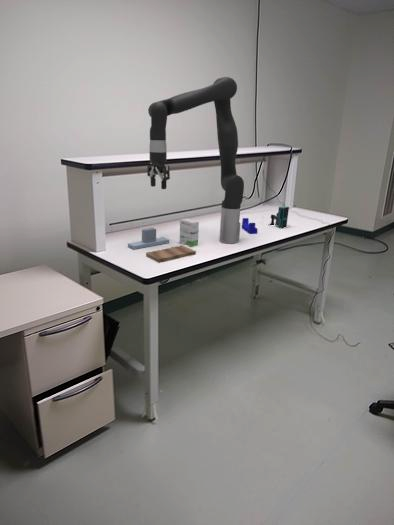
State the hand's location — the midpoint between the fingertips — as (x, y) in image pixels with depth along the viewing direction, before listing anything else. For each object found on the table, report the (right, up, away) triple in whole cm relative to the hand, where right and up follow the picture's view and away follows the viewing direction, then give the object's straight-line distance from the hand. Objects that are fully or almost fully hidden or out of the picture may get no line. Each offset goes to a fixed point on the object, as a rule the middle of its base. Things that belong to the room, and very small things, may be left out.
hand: (158, 187), depth 182 cm
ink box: (+14, -25, +12) cm, 31 cm away
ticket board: (+6, -31, -5) cm, 32 cm away
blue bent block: (+47, -17, +40) cm, 64 cm away
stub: (-5, -26, +8) cm, 27 cm away
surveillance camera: (+64, -13, +52) cm, 84 cm away
